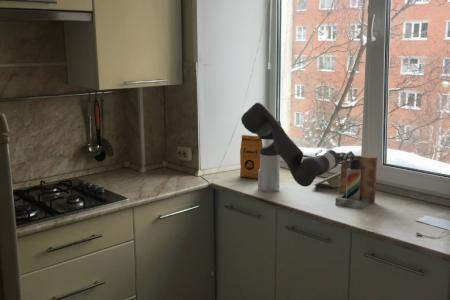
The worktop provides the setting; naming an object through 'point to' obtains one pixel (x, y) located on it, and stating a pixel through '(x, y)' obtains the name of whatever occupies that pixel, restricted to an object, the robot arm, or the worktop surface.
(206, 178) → the worktop surface
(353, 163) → the lotion bottle
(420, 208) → the worktop surface
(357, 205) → the cleat board
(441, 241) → the worktop surface
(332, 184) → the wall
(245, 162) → the coffee package
